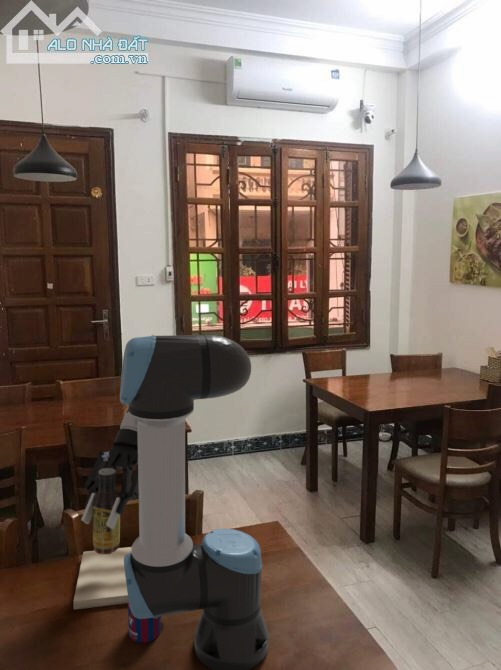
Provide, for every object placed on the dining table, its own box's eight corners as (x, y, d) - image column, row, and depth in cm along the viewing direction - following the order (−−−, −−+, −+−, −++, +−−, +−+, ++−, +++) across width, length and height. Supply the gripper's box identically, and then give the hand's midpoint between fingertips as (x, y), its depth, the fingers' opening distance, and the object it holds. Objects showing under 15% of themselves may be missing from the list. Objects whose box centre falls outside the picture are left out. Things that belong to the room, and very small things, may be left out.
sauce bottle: (87, 552, 122) (84, 473, 119) (103, 539, 128) (101, 463, 125) (111, 558, 120) (108, 478, 117) (126, 544, 125) (124, 467, 122)
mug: (122, 631, 109) (121, 601, 108) (162, 609, 116) (161, 581, 115) (139, 648, 104) (138, 617, 103) (179, 624, 111) (179, 595, 110)
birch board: (137, 601, 118) (137, 593, 118) (73, 609, 115) (73, 601, 115) (138, 553, 137) (138, 546, 137) (83, 558, 134) (83, 551, 134)
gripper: (171, 445, 131) (139, 536, 119) (107, 436, 137) (70, 522, 124) (161, 431, 126) (126, 526, 113) (94, 422, 132) (54, 512, 119)
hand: (97, 524), depth 119 cm, fingers closed on sauce bottle, 6 cm apart
